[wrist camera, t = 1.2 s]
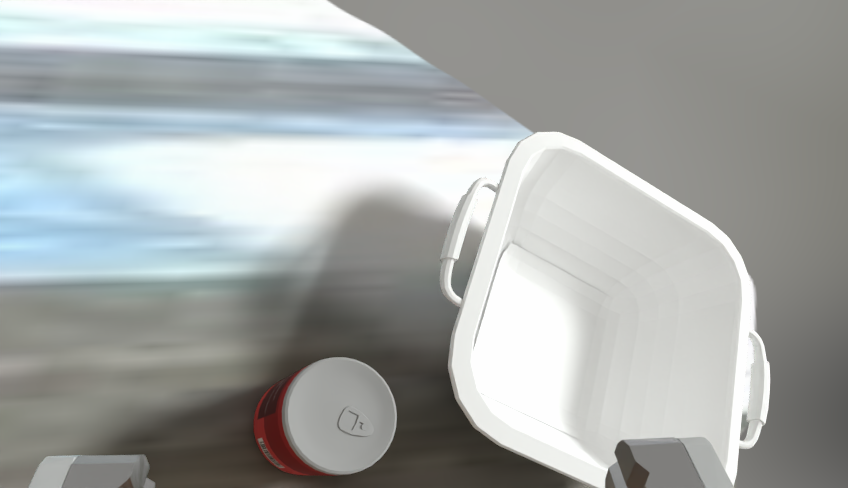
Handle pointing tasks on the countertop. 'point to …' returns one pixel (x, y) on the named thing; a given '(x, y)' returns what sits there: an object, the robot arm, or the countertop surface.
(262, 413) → the canned food
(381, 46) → the countertop surface
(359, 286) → the countertop surface
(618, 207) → the baking dish
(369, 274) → the countertop surface
